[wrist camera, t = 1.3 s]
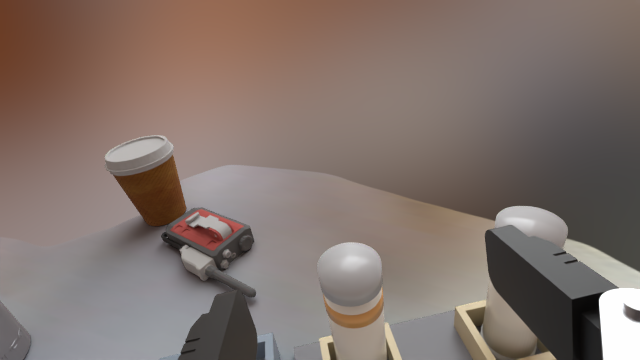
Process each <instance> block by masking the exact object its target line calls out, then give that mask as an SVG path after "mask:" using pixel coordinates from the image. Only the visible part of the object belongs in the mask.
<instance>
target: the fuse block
mask: <svg viewBox="0 0 640 360" xmlns="http://www.w3.org/2000/svg"><path fill="white" fill-rule="evenodd" d="M485 306H486V300H483V301H478V302H474V303H470V304H465V305H461V306H457V307H455V310H453V311H448V312H444V313H440V314H435V315H431V316H427V317H423V318H418V319H414V320H410V321H405V322H401V323H397V324H392V325H389V324H388V323H384V324H385V336H386V349H387V360H496V359H495V357H494V355H493V354H492V352H491V351H490V349H489V348H488V346H487V344H486V343H485V341H484V340H483V338H482V336H481V335H480V332H481V327H482V324H483V321H484V313H485ZM294 356H295V360H337V358H336V353H335V348H334V343H333V338H332V336H327V337H323V338H319V342H315V343H311V344H306V345H302V346H298V347H294ZM516 360H557V359H556V358H555V357H554V356H553V355H552V354H551V352H550V351H549V350H548V349H547V348H546V347H545V346H544V345H543V343H542V342H541V341H540V340H539V339H538V338H537V348H536V352H535V355H533V356H529V357H525V358H520V359H516Z"/></svg>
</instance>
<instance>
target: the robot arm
mask: <svg viewBox="0 0 640 360" xmlns="http://www.w3.org/2000/svg"><path fill="white" fill-rule="evenodd" d="M485 242H486V252H487V262H488V272H489V277H490V280H491V282H492V284H493V286H494V288H495V290H496V291H497V293H498V294H499V295H500V296H501V297H502V298H503V299H504V300H505V302H506V303H507V304H508V305H509V306H510V307H511V308H512V310H513V311H514V312H515V313H516V314H517V315H518V316H519V317H520V319H521V320H522V321H523V322H524V323H525V324H526V325H527V326H528V328H529V329H530V330H531V331H532V332H533V333H534V334H535V336H536V337H537V338H538V339H539V340H540V341H541V342H542V343H543V345H544V346H545V347H546V348H547V349H548V350H549V351H550V352H551V354H552V355H553V356H554V357H555V358H556V359H557V360H640V290H639V289H630V288H618V287H617V286H615V285H614V284H613V283H611V282H610V281H608V280H607V279H605V278H604V277H602V276H601V275H599V274H598V273H596V272H595V271H594V270H592V269H591V268H589V267H588V266H586V265H585V264H583V263H582V262H580V261H579V262H578V261H577V259H576V258H575V257H573V256H572V255H570V254H569V253H566V251H564V250H563V249H562V248H560V247H559V246H557V245H556V244H554V243H553V242H551V241H548V240H545V239H542V238H539V237H536V236H531V237H528V236H527V235H526V234H524V233H523V232H522V231H520V230H519V229H518V228H516V227H515V226H513V225H507V226H503V227H499V228H494V229H490V230H487V231H486V233H485ZM185 342H186V344H184V346H183V348H182V350H181V355H180V356H179V358H178V360H256V355H257V347H258V340H257V333H256V328H255V325H254V323H253V320H252V317H251V314H250V312H249V309H248V306H247V303H246V301H245V298H244V295H243V293H242V291H241V290H239V289H238V290H234V291H230V292H226V293H222V294H217V295H216V296H215V298H214V301H213V303H212V306H211V309H210V312H209V313H207V314H202V315H201V317H200V318H199V319H198V320H197V321H196V322H195V324H194V325H193V326H192V327H191V329H190V331H189V334H188V336H187V338H186V341H185ZM30 343H31V337H30V335H29V333H28V332H27V331H26V329H25V328H24V327H23V326H22V325H21V324H20V323H19V322H18V320H17V319H16V318H15V317H14V316H13V315H12V314H11V313H10V311H9V310H8V309H7V308H6V307H5V306H4V304H3V303H2V302H1V301H0V360H23V359H24V358H25V356H26V354H27V352H28V350H29V347H30Z"/></svg>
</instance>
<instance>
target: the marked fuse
mask: <svg viewBox="0 0 640 360" xmlns="http://www.w3.org/2000/svg"><path fill="white" fill-rule="evenodd" d="M317 271H318V276H319V281H320V286H321V290H322V292H323V297H324V302H325V307H326V311H327V314H328V318H329V323H330V328H331V333H332V338H333V343H334V348H335V353H336V358H337V360H387V349H386V336H385V324H384V311H383V306H384V301H383V289H382V284H383V278H382V265H381V259H380V257H379V255H378V253H377V252H376V251H375V250H374V249H372V248H371V247H369V246H367V245H364V244H361V243H342V244H339V245H336V246H333V247H331V248H330V249H328V250H327V251H325V252H324V253H323V254H322V256H321V257H320V259H319V261H318V264H317Z"/></svg>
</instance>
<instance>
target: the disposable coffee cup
mask: <svg viewBox="0 0 640 360" xmlns="http://www.w3.org/2000/svg"><path fill="white" fill-rule="evenodd" d="M173 149H174V147H173V144H172V143H170V142H169V141H168V140H167V138H166V137H164V136H161V135H153V136H145V137H140V138H137V139H134V140H130V141H127V142H125V143H123V144H120V145H118V146H116V147H115V148H113V149H111V150H110V151H109V152H107V154H106V155H105V162H106V164H105V168H106V170H107V171H109V172H110V173H111V174H113V176H114V177H115V178H116V180H117V181H118V183H119V184H120V186H121V187H122V188H123V190H124V191H125V193H126V194H127V195H128V197H129V198H130V200H131V201H132V203H133V204H134V206H135V207H136V208H137V210H138V211H139V213H140V214H141V216H142V217H143V218H144V220H145V221H146V223H147V224H148V225H151V226H162V225H166V224H168V223H171V222H173V221H175V220H176V219H178V218H179V217H181V216H182V215H183V214H184V213H185V211H186V205H185V201H184V197H183V193H182V189H181V185H180V181H179V177H178V174H177V169H176V165H175V161H174V157H173Z"/></svg>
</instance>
